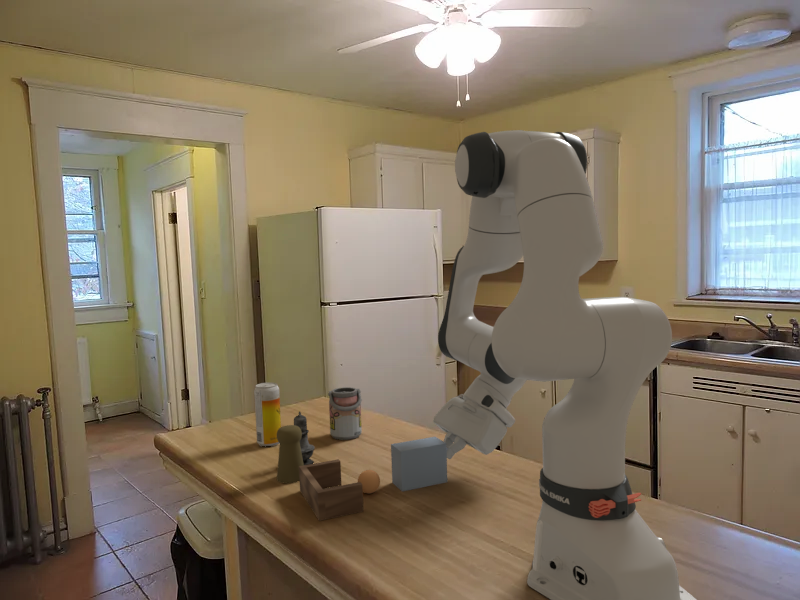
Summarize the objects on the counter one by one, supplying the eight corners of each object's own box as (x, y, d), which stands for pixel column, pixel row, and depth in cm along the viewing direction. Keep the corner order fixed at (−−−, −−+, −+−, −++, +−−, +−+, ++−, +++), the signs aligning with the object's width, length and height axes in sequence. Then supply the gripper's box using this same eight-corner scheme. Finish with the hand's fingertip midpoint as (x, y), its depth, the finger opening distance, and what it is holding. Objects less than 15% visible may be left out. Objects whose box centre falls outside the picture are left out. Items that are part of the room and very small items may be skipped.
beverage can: (365, 440, 143) (363, 393, 142) (332, 443, 141) (330, 396, 140) (359, 429, 152) (358, 385, 151) (328, 432, 150) (326, 388, 149)
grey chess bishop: (303, 470, 124) (300, 416, 123) (283, 465, 127) (280, 413, 126) (320, 461, 129) (318, 409, 128) (301, 457, 132) (298, 406, 131)
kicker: (447, 482, 115) (446, 443, 114) (402, 491, 111) (400, 451, 110) (436, 473, 120) (435, 436, 119) (392, 482, 116) (390, 444, 115)
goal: (363, 511, 103) (362, 484, 103) (319, 520, 100) (317, 493, 99) (339, 483, 116) (338, 459, 116) (300, 490, 113) (298, 466, 113)
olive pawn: (299, 483, 117) (297, 431, 116) (272, 482, 118) (269, 430, 117) (310, 472, 122) (307, 422, 122) (283, 471, 124) (281, 422, 123)
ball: (383, 494, 110) (383, 472, 110) (362, 499, 108) (361, 476, 108) (375, 486, 114) (375, 464, 114) (354, 490, 112) (354, 468, 112)
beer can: (286, 441, 144) (284, 383, 143) (269, 449, 139) (266, 388, 138) (269, 438, 147) (266, 381, 146) (251, 445, 142) (248, 386, 141)
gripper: (450, 384, 129) (412, 433, 126) (501, 404, 110) (457, 462, 107) (468, 400, 131) (431, 449, 128) (520, 423, 112) (479, 481, 109)
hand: (443, 455), depth 117 cm, fingers closed, pressing on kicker
